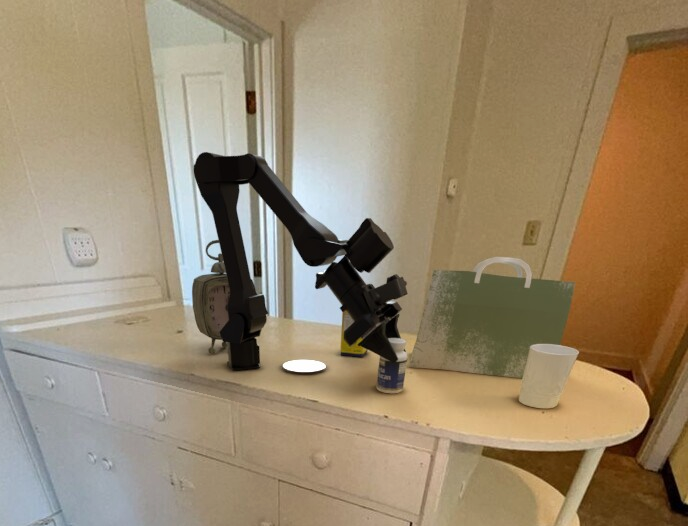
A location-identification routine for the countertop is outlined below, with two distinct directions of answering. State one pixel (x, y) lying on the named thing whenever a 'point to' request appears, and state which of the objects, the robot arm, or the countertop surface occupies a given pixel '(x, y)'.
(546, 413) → the countertop surface
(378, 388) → the pill bottle
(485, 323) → the grocery bag
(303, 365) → the white disc
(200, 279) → the tabletop clock
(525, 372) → the white cup
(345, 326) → the supplement box
